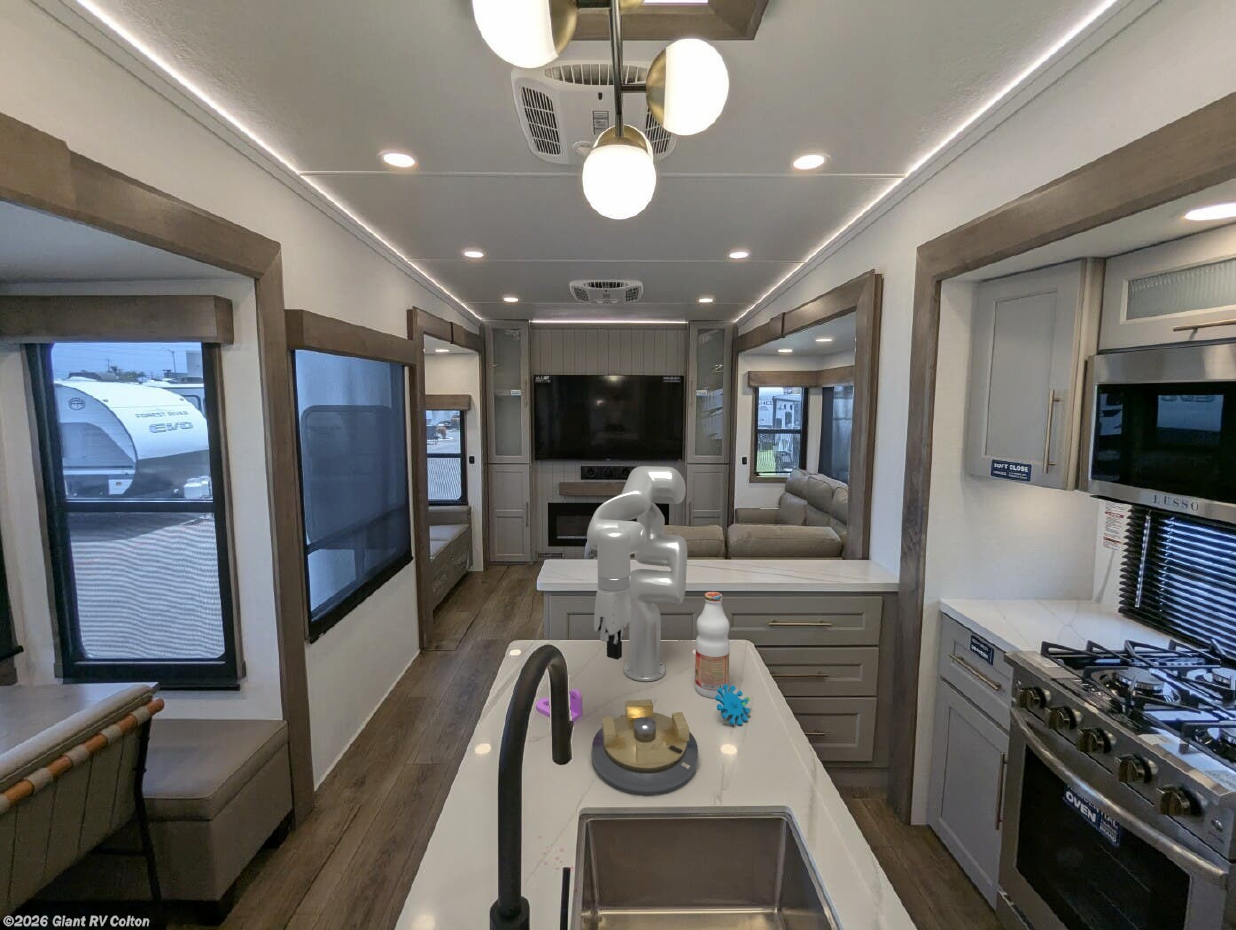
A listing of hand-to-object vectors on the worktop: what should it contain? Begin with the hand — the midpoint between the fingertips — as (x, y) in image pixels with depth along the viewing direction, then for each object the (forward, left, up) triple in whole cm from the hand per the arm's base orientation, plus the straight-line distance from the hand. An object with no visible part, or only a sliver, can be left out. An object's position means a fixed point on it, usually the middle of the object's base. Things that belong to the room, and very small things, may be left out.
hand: (614, 656), depth 122 cm
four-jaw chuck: (+4, +8, -18) cm, 20 cm away
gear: (-16, +28, -22) cm, 39 cm away
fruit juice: (-28, +23, -22) cm, 42 cm away
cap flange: (+4, +8, -21) cm, 23 cm away
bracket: (-9, -17, -22) cm, 29 cm away
